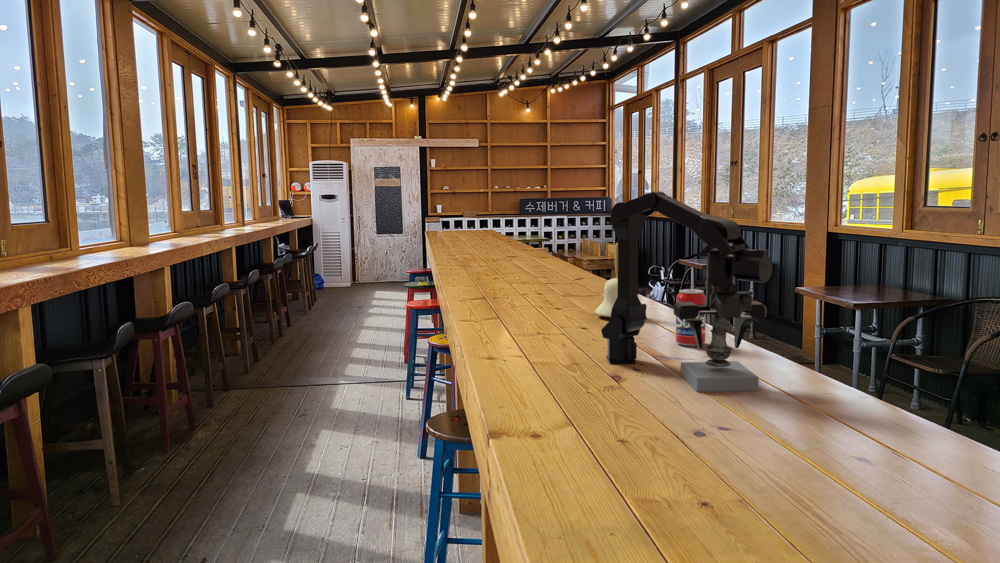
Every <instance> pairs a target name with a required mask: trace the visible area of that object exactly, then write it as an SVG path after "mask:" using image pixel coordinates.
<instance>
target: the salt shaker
mask: <svg viewBox="0 0 1000 563" xmlns="http://www.w3.org/2000/svg"><path fill="white" fill-rule="evenodd" d="M711 325H712V329H711V330H710V333H711V341H710V343H709V344H707V345H705V346H704V349H705V353H706V356H708V358H709V359H708V360H706V361H705V362H706V364H707V365H710V366H715V367H727V366H730V365H731V364H730V363H729V362H728V361H729V360H727V359H728V358H730V355H731V353H732V351H733V347H731V346H730V345H728V344H727V333H728V330H727V318H720V317H719V316H718V315H717V314H714V315H713V317H712V324H711Z"/></svg>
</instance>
